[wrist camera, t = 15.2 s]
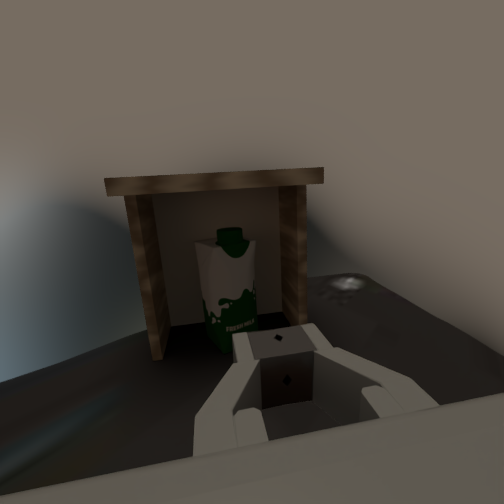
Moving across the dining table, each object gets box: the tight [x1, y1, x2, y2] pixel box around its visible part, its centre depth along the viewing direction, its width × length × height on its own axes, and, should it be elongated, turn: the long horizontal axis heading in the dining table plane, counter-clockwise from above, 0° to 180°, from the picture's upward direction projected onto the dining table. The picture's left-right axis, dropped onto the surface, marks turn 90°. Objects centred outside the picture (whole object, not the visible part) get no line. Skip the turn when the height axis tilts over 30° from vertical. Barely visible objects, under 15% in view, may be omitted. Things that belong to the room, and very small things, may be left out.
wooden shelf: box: [104, 167, 324, 361], centre depth 43 cm, size 26×18×28 cm
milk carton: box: [194, 227, 259, 354], centre depth 44 cm, size 9×9×20 cm
